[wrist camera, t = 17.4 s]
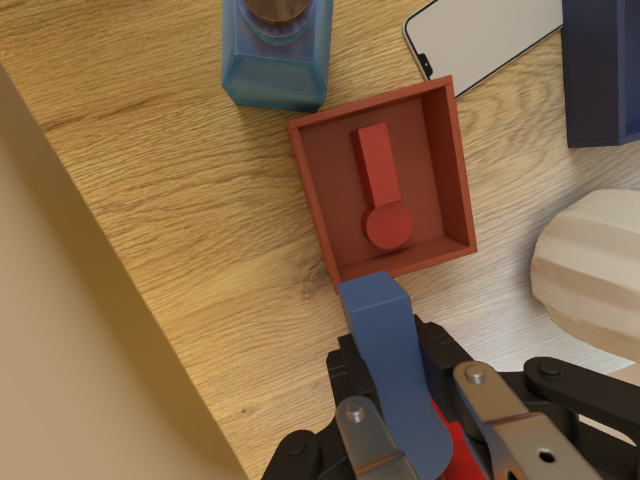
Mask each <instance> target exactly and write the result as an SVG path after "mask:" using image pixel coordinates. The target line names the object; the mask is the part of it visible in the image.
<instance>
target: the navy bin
mask: <svg viewBox="0 0 640 480" xmlns="http://www.w3.org/2000/svg"><path fill="white" fill-rule="evenodd" d="M562 14H563V27H562V28H561V32H562V49H563V66H564V84H565V101H566V118H567V135H568V148H581V147H601V146H620V145H623V144H626V143H630V142H633V141H636V140H640V0H562Z"/></svg>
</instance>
